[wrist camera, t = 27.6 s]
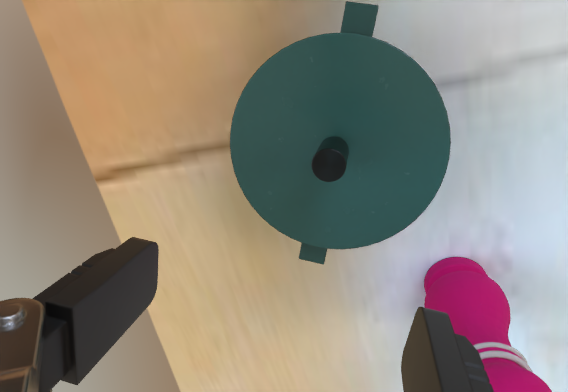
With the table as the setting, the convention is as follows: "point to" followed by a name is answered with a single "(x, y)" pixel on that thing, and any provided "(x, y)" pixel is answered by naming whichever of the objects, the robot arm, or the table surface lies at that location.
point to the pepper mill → (480, 321)
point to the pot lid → (340, 140)
